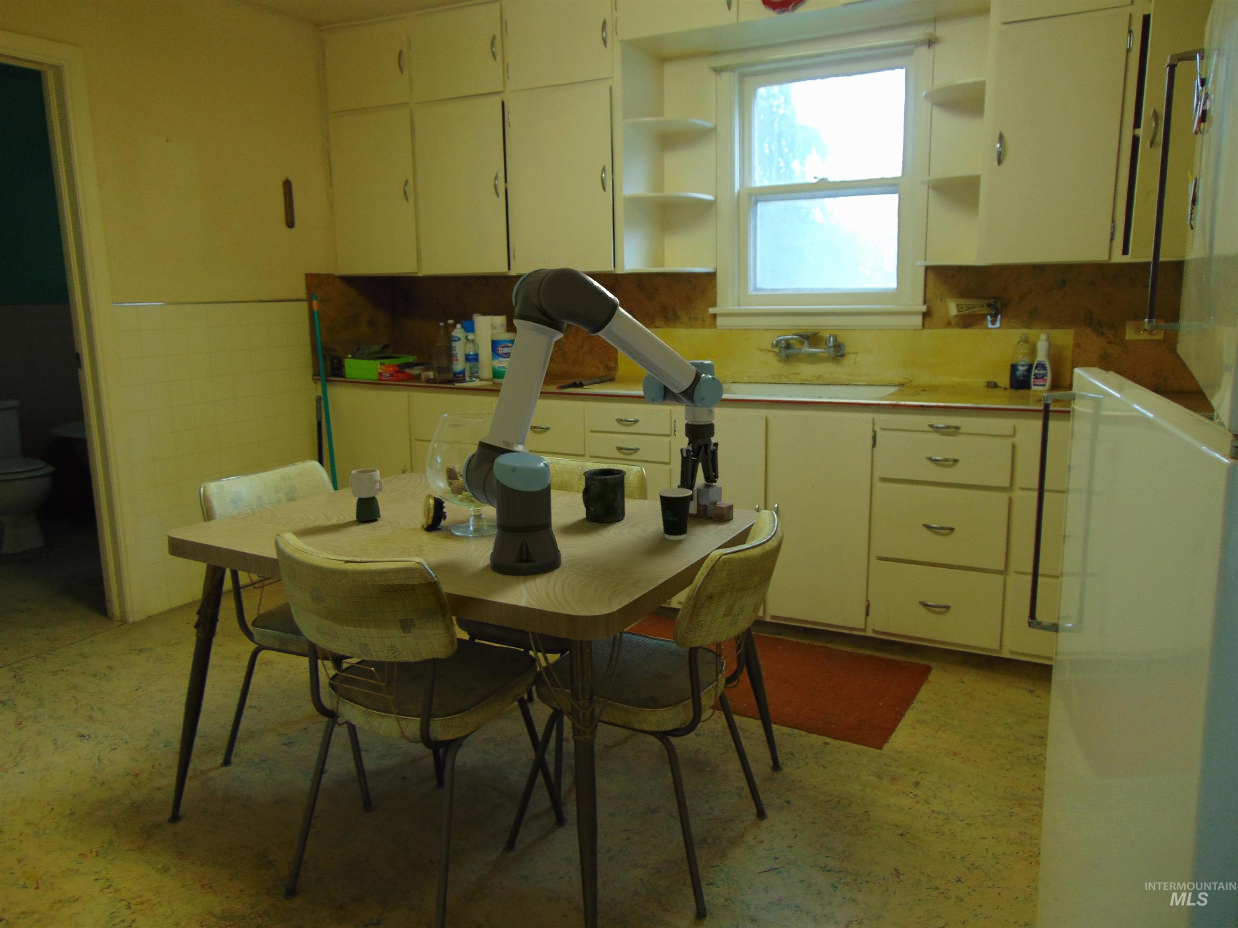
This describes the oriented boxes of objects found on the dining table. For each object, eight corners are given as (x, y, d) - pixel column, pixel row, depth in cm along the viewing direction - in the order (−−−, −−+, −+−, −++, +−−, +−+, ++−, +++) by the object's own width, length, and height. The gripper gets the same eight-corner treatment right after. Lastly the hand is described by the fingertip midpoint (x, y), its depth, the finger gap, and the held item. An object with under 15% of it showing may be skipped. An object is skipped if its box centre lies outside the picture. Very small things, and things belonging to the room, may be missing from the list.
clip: (721, 514, 230) (721, 486, 229) (709, 518, 226) (709, 489, 225) (690, 509, 237) (690, 481, 235) (677, 513, 233) (677, 484, 231)
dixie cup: (659, 541, 207) (658, 495, 205) (657, 532, 215) (657, 488, 213) (693, 541, 207) (693, 495, 205) (690, 532, 215) (690, 487, 213)
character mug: (394, 519, 233) (390, 470, 230) (375, 525, 226) (371, 475, 224) (361, 515, 237) (358, 467, 235) (342, 521, 231) (338, 472, 229)
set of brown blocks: (724, 521, 224) (724, 507, 224) (667, 511, 236) (667, 497, 235) (733, 518, 227) (733, 504, 227) (676, 508, 239) (676, 494, 238)
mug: (635, 516, 232) (634, 470, 229) (603, 528, 220) (602, 480, 217) (600, 511, 237) (599, 466, 235) (567, 523, 225) (566, 476, 223)
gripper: (689, 427, 218) (689, 519, 222) (733, 418, 232) (732, 505, 236) (664, 425, 222) (665, 515, 227) (709, 416, 237) (709, 501, 241)
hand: (699, 509), depth 231 cm, fingers open, 6 cm apart
